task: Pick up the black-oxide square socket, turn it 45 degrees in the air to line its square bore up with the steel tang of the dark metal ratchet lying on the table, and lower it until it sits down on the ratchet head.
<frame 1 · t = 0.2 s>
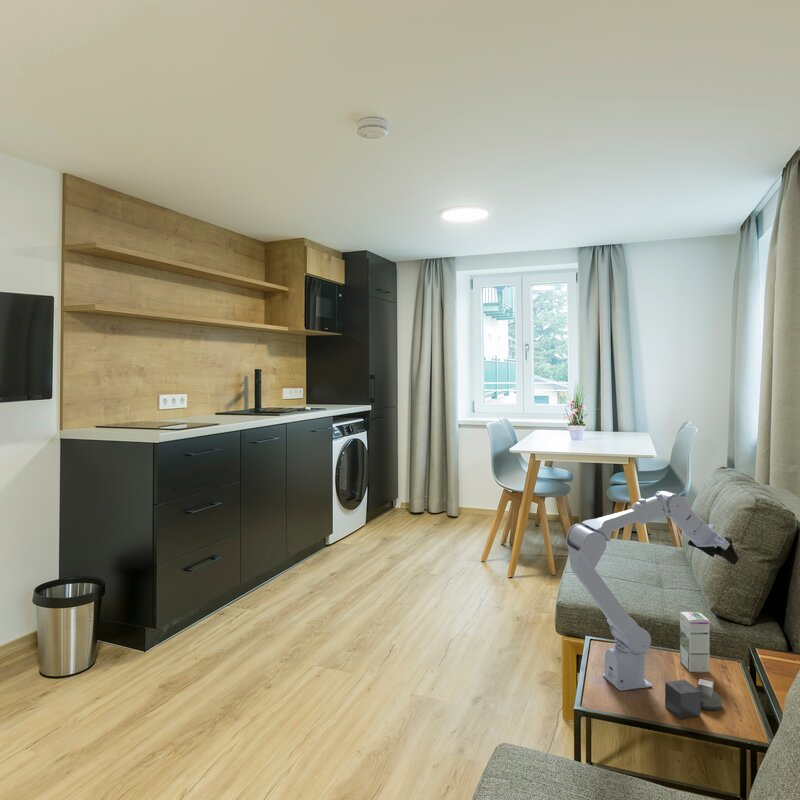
hand: (724, 557, 155), 31 cm above the table, tool tilted 50°, fingers open, 7 cm apart
socket: (682, 711, 137), on the table
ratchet: (705, 703, 141), on the table
syrup box: (694, 668, 159), on the table
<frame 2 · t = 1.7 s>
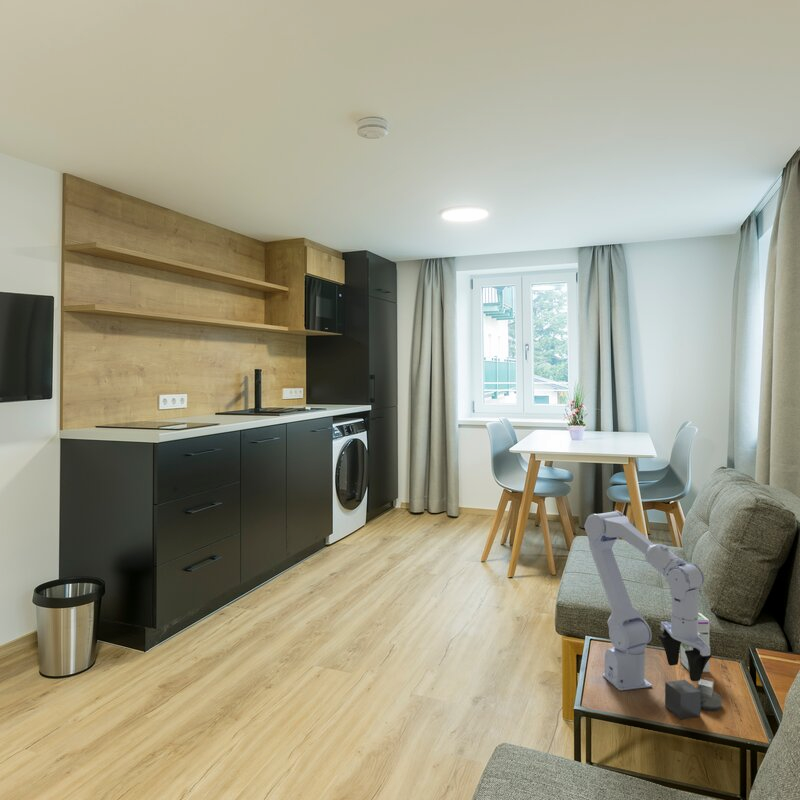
hand: (683, 672, 137), 9 cm above the table, tool pointing down, fingers open, 7 cm apart
nothing on the table moved.
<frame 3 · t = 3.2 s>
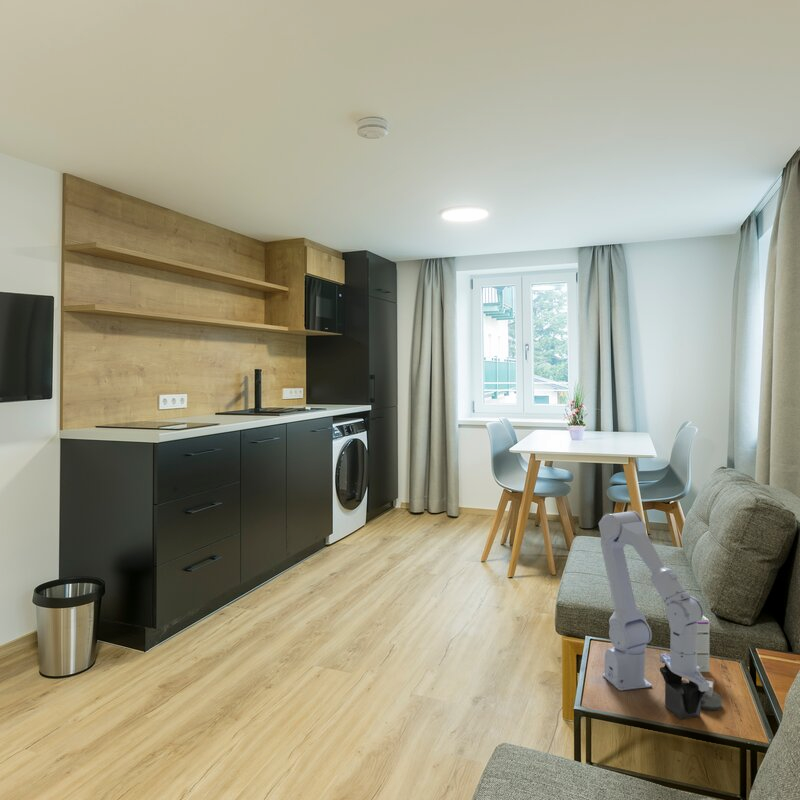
hand: (682, 705, 137), 1 cm above the table, tool pointing down, fingers closed on socket, 5 cm apart
socket: (682, 711, 137), on the table, touching gripper
everything else where it was.
when the fingers open (4 cm above the table, at t = 6.8 s): socket stays where it is, resting on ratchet.
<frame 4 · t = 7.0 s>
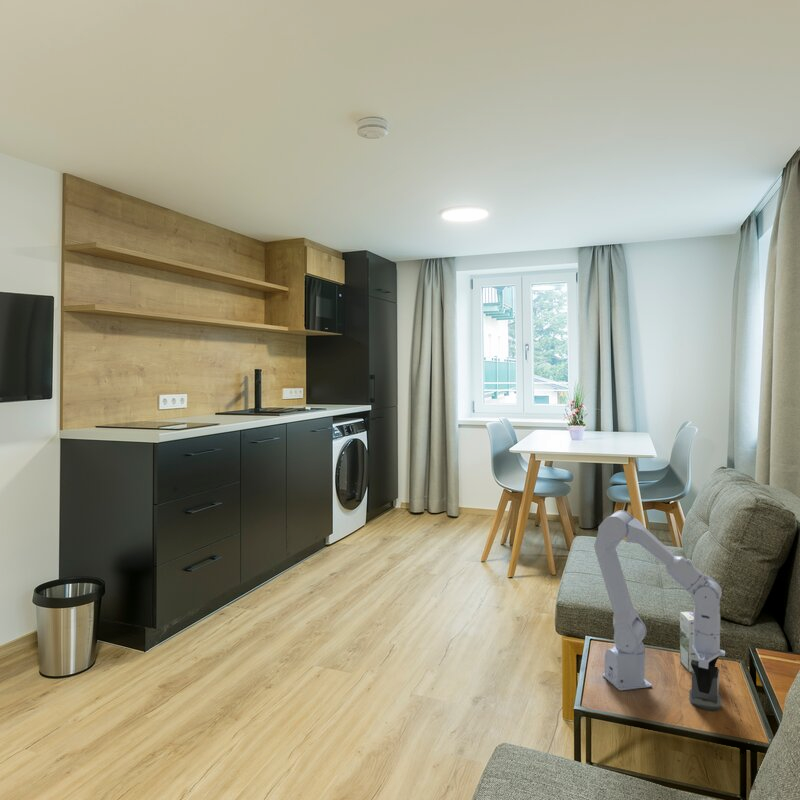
hand: (705, 685, 141), 4 cm above the table, tool pointing down, fingers open, 7 cm apart
socket: (705, 695, 141), point 2 cm above the table, touching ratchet
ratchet: (705, 703, 141), on the table, touching socket
everything else where it was.
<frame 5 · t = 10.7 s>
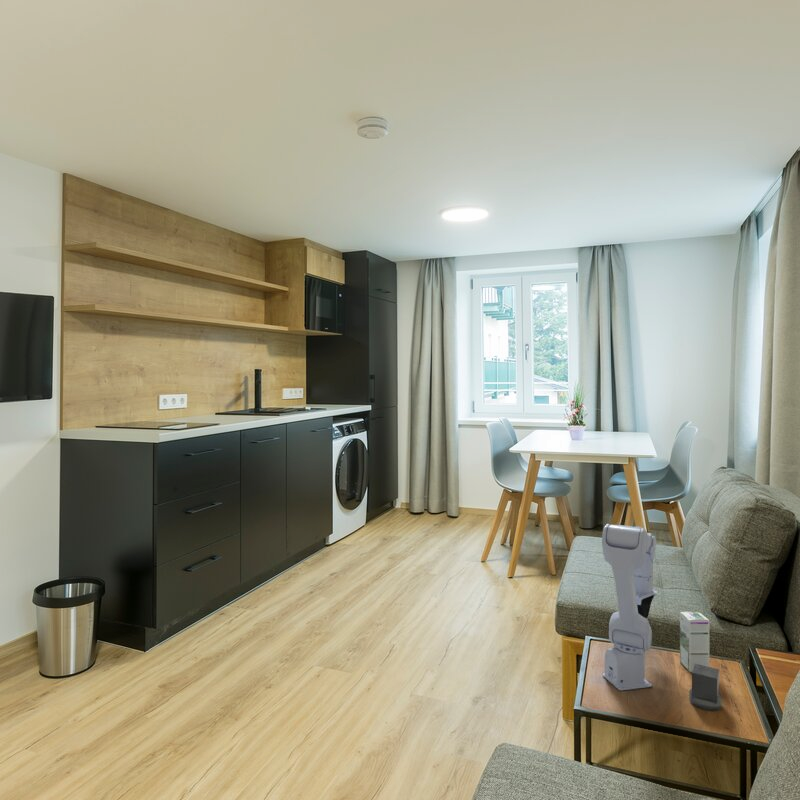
hand: (641, 621, 164), 10 cm above the table, tool pointing down, fingers open, 7 cm apart
nothing on the table moved.
at the end: socket 0.0 cm from the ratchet (horizontally); socket point 2.0 cm above the table; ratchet moved 0.0 cm from its start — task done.
